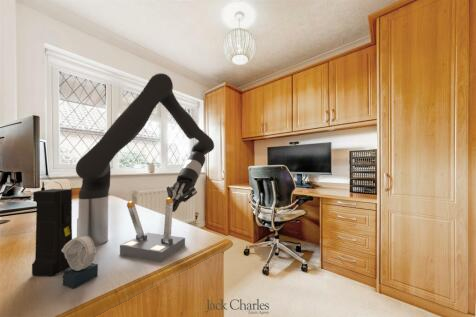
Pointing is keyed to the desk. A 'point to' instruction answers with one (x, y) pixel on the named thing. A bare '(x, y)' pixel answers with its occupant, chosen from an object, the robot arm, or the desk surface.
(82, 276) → the stone sculpture on base
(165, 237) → the lever
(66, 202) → the portable radio
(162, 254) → the switch console
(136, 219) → the lever
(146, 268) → the desk surface
